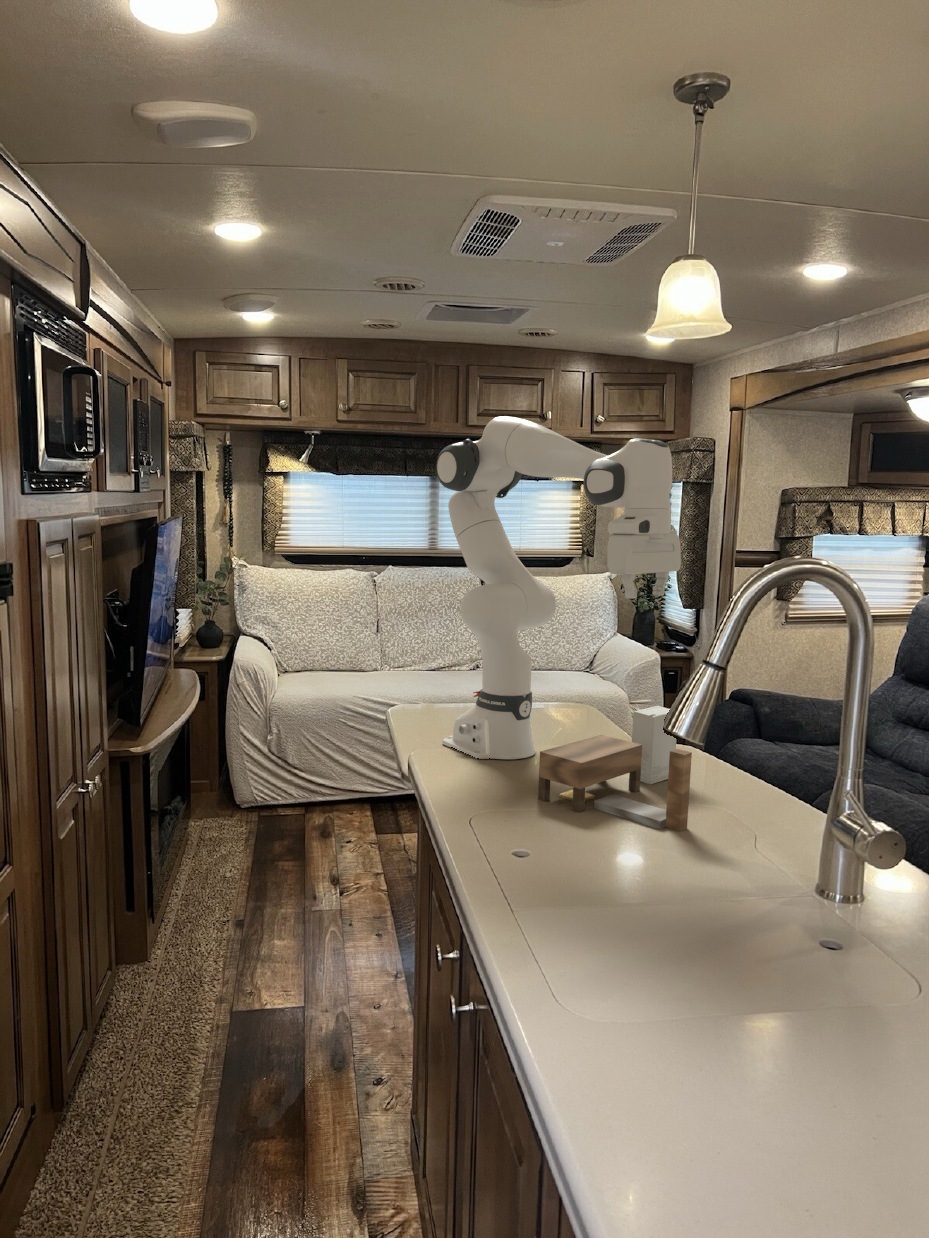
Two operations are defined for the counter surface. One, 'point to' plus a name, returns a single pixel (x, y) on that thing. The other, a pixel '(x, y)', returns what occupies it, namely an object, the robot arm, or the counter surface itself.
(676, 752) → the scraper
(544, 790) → the small wooden table
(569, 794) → the tan square tile
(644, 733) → the skincare box
